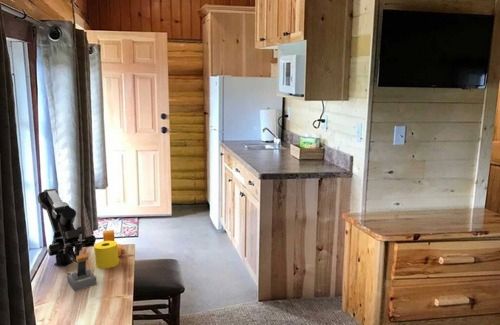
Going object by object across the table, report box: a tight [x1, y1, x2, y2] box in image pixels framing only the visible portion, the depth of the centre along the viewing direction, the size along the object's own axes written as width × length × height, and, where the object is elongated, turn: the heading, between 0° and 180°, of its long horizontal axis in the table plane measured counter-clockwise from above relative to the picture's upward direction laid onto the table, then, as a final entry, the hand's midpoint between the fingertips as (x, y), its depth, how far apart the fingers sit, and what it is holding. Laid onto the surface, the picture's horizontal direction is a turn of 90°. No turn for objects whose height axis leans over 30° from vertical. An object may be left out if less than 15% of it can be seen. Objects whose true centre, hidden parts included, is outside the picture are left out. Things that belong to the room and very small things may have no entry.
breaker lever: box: [76, 253, 89, 277], centre depth 185 cm, size 2×4×11 cm, turn 128°
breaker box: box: [66, 268, 98, 292], centre depth 188 cm, size 10×9×5 cm
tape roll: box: [93, 240, 120, 270], centre depth 206 cm, size 10×10×9 cm
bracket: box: [102, 229, 122, 257], centre depth 218 cm, size 11×7×12 cm, turn 14°
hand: (77, 262), depth 189 cm, fingers closed
